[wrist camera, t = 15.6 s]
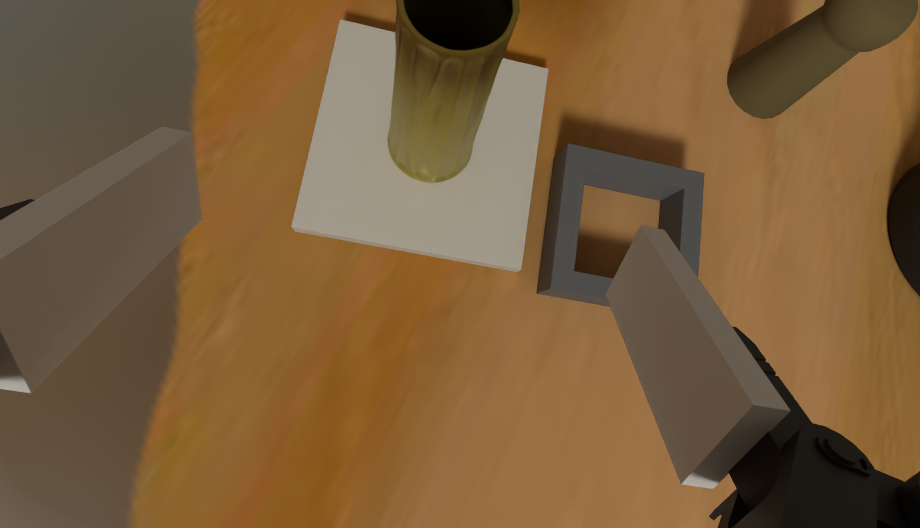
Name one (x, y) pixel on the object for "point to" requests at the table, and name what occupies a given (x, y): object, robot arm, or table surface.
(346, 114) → the board
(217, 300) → the table surface
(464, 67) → the vase
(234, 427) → the table surface
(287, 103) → the table surface
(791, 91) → the olive brown pawn
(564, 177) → the collar
